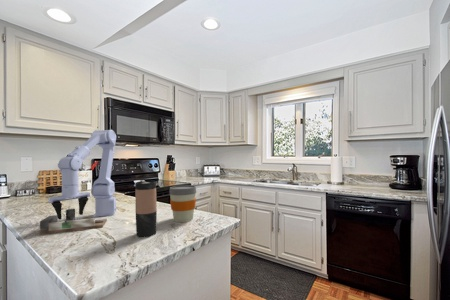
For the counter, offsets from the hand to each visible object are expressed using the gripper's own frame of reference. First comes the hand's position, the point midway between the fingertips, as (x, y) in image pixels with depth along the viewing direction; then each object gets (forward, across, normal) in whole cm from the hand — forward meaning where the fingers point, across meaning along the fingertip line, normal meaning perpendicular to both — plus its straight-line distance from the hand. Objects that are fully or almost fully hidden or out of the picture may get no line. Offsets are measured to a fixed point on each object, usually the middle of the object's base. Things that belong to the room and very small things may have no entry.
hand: (70, 216), depth 92 cm
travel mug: (+5, -15, +34) cm, 37 cm away
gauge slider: (+3, +1, +1) cm, 3 cm away
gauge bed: (+5, -2, +1) cm, 5 cm away
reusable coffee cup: (+5, -36, +31) cm, 48 cm away
